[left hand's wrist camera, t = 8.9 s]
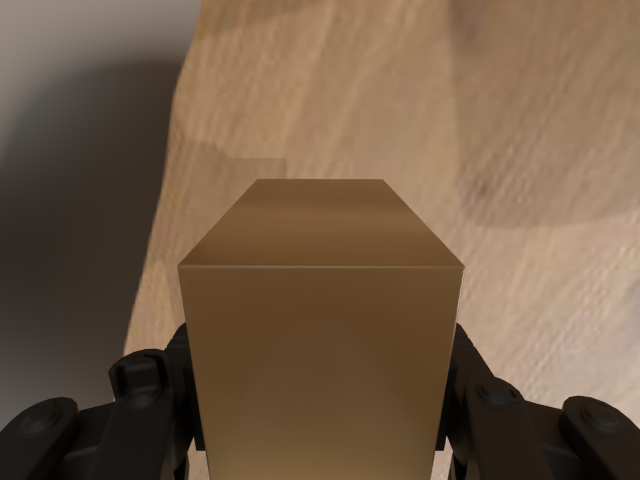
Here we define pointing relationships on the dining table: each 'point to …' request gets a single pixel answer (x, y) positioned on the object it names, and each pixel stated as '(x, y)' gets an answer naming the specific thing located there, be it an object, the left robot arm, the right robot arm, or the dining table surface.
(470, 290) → the dining table surface
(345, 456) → the bar
